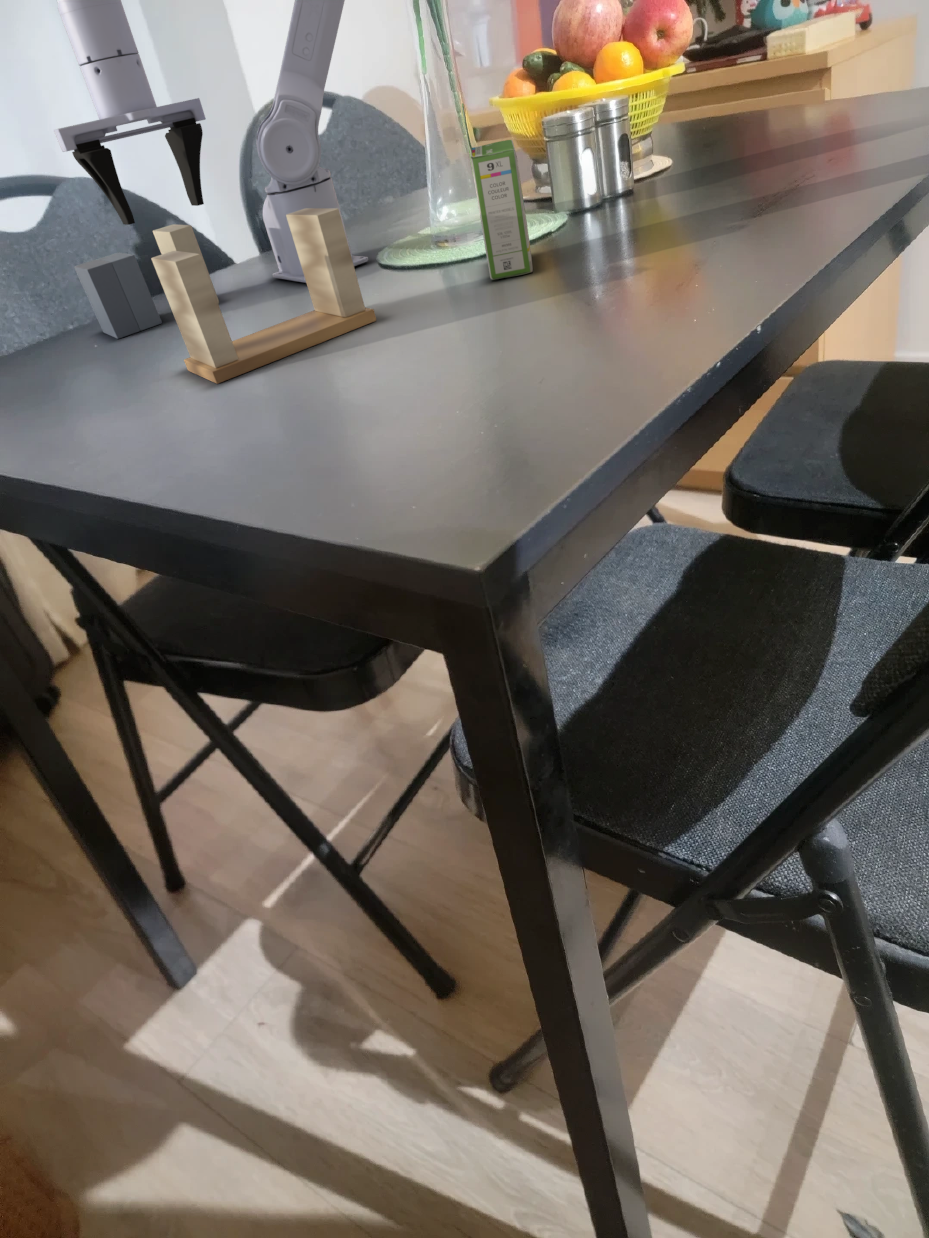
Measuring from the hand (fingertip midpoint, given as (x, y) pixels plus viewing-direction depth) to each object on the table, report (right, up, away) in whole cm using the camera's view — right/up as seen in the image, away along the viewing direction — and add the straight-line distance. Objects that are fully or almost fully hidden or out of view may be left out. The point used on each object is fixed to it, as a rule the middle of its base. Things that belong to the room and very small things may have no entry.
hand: (164, 214), depth 86 cm
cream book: (+2, -7, +6) cm, 9 cm away
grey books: (-4, -11, +3) cm, 12 cm away
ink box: (+36, -11, -11) cm, 39 cm away
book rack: (+16, -19, -17) cm, 30 cm away
